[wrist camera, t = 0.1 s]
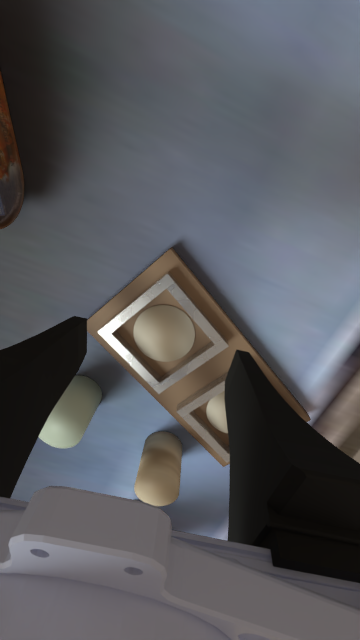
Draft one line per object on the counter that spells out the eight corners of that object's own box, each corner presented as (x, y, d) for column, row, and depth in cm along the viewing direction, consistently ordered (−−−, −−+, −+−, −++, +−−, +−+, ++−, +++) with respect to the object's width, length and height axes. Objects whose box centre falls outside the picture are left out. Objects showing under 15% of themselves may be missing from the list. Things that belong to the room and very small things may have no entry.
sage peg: (83, 415, 28) (60, 455, 24) (54, 389, 27) (24, 425, 23) (110, 396, 27) (92, 433, 23) (80, 368, 26) (55, 401, 22)
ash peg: (161, 466, 30) (154, 511, 26) (136, 443, 29) (125, 486, 25) (190, 449, 29) (188, 494, 24) (165, 425, 28) (158, 467, 24)
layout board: (222, 458, 29) (224, 475, 27) (86, 321, 25) (76, 329, 23) (306, 412, 27) (315, 427, 25) (171, 247, 22) (169, 250, 20)
